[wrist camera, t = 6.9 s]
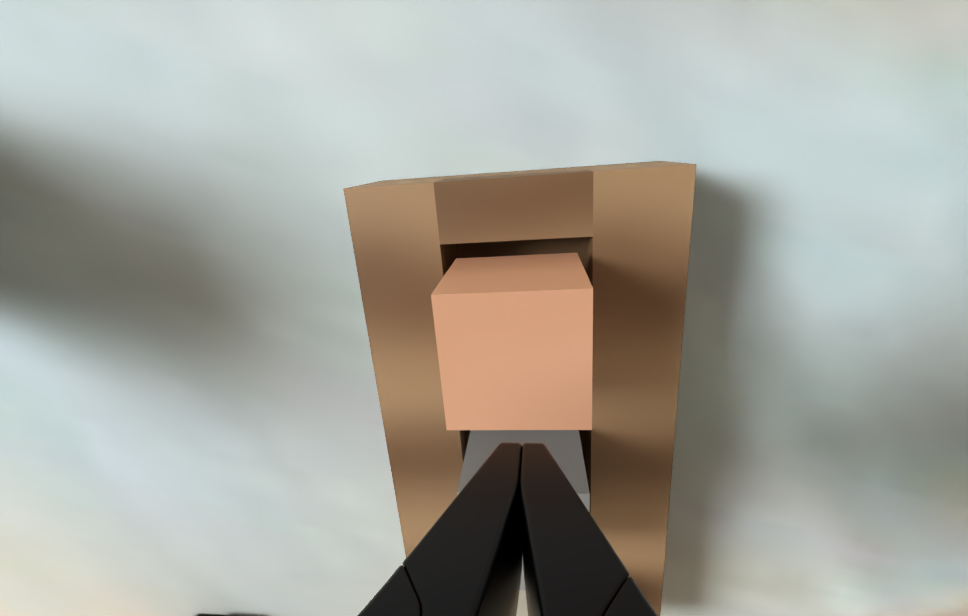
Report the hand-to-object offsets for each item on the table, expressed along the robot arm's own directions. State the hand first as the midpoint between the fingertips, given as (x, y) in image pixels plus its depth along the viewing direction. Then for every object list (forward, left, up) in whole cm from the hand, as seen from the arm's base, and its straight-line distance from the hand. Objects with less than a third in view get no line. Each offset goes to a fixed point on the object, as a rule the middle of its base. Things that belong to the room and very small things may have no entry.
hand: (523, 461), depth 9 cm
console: (-6, 0, -11) cm, 13 cm away
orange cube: (0, 0, -7) cm, 7 cm away
